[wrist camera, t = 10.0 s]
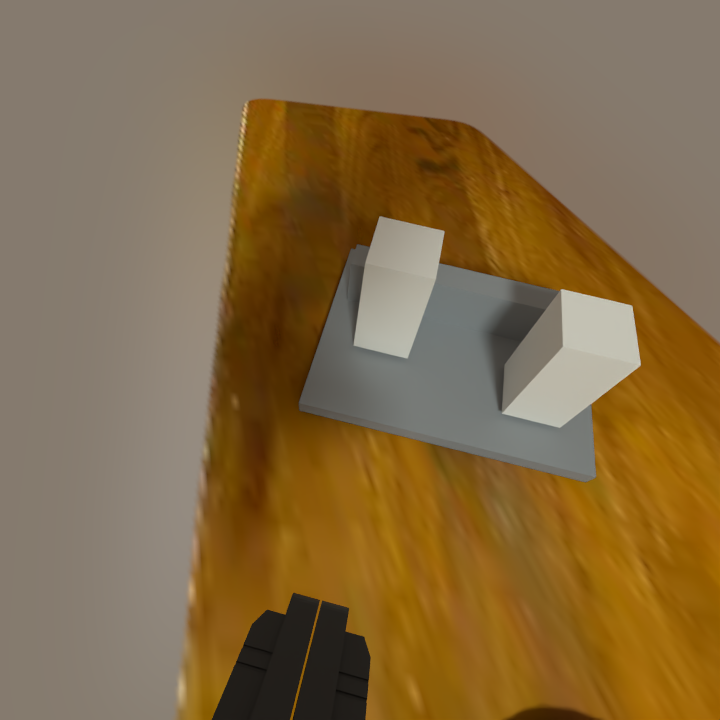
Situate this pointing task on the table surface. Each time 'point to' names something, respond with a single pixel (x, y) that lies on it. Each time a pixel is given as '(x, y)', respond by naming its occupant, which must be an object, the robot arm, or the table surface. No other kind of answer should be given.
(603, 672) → the table surface
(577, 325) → the white rectangular block
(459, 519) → the table surface
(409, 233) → the tall white pillar block
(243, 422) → the table surface
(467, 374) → the plate
